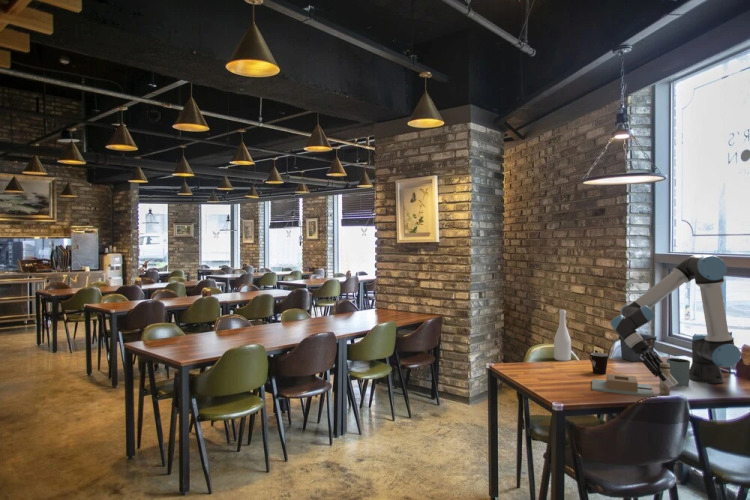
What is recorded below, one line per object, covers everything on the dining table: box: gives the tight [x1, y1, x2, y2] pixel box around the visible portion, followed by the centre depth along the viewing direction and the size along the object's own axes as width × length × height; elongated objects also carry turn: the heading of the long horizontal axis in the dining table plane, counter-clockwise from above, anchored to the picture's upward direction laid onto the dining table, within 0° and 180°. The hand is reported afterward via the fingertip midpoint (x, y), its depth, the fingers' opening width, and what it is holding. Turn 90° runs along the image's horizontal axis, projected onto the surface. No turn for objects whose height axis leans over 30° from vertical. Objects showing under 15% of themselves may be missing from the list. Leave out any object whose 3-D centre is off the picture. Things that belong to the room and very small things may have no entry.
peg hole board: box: [591, 373, 655, 398], centre depth 239 cm, size 26×18×5 cm
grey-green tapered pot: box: [666, 357, 691, 387], centre depth 247 cm, size 10×10×12 cm
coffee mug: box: [588, 352, 609, 375], centre depth 270 cm, size 12×9×10 cm
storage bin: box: [617, 333, 658, 362], centre depth 299 cm, size 21×16×14 cm
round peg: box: [659, 362, 671, 396], centre depth 231 cm, size 4×4×14 cm
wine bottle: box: [553, 309, 572, 362], centre depth 300 cm, size 10×10×30 cm
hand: (673, 385), depth 228 cm, fingers closed on round peg, 4 cm apart
